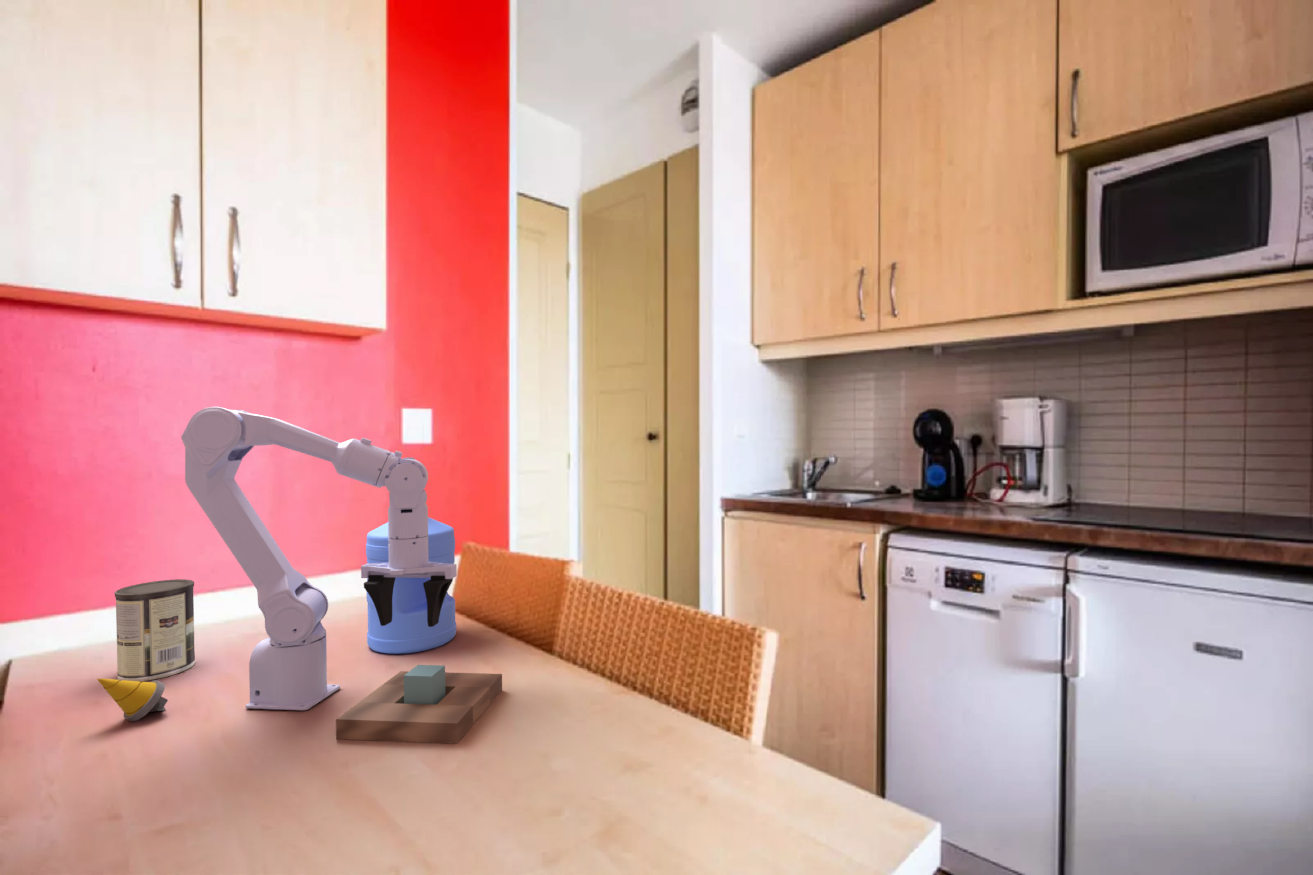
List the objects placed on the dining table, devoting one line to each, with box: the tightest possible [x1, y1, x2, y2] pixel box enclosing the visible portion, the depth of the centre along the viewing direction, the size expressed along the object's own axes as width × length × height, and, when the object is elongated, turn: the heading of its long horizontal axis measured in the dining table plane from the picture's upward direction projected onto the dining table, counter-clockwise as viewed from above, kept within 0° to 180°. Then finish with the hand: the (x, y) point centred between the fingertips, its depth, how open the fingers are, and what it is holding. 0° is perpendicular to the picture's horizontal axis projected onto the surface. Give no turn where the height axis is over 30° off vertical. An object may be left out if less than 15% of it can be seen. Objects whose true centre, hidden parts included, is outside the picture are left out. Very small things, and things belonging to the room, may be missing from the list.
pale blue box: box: [404, 664, 446, 705], centre depth 85 cm, size 4×4×6 cm
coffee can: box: [114, 578, 196, 682], centre depth 102 cm, size 10×10×14 cm
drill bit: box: [96, 678, 169, 722], centre depth 84 cm, size 5×5×10 cm
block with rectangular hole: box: [335, 670, 503, 744], centre depth 85 cm, size 16×16×2 cm
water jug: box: [365, 516, 457, 655], centre depth 116 cm, size 16×16×28 cm
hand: (409, 624), depth 95 cm, fingers open, 7 cm apart
